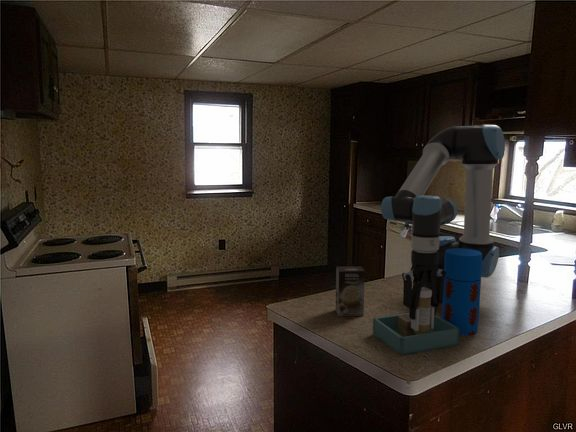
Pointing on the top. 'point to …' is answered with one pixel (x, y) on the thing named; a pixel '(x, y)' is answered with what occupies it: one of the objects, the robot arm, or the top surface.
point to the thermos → (462, 289)
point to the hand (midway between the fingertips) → (422, 328)
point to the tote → (436, 339)
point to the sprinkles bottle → (424, 311)
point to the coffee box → (350, 291)
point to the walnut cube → (405, 326)
